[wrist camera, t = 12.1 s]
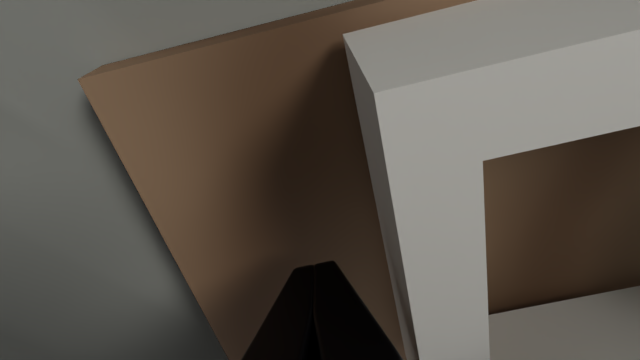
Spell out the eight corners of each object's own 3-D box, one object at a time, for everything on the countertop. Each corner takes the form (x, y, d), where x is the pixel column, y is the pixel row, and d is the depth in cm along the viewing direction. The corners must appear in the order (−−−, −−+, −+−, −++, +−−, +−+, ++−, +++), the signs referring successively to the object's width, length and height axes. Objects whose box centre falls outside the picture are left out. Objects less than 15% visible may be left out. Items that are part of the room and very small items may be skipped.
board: (1126, -200, 7) (1250, -222, 6) (813, 348, 13) (848, 375, 13) (101, 65, 8) (77, 79, 7) (289, 441, 15) (289, 471, 14)
